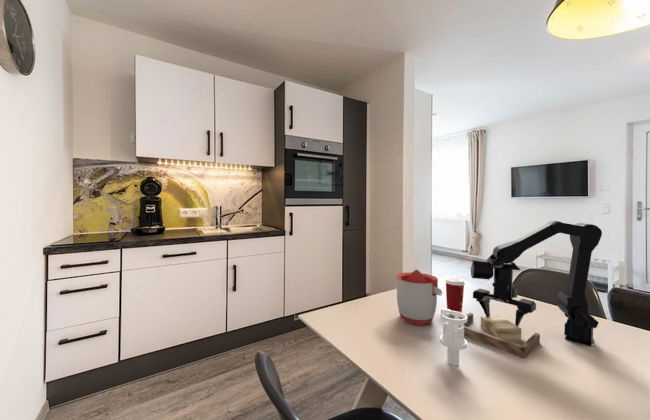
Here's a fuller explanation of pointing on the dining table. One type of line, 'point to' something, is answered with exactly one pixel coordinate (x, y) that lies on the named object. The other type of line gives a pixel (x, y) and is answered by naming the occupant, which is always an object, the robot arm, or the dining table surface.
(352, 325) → the dining table surface
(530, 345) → the brown angled piece
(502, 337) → the cream rectangular block
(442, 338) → the white flanged plastic holder
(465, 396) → the dining table surface
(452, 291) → the paper cup
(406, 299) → the citrus juicer
